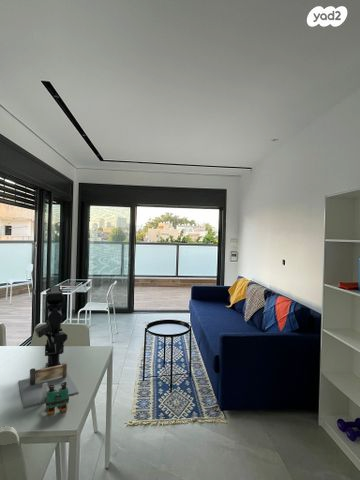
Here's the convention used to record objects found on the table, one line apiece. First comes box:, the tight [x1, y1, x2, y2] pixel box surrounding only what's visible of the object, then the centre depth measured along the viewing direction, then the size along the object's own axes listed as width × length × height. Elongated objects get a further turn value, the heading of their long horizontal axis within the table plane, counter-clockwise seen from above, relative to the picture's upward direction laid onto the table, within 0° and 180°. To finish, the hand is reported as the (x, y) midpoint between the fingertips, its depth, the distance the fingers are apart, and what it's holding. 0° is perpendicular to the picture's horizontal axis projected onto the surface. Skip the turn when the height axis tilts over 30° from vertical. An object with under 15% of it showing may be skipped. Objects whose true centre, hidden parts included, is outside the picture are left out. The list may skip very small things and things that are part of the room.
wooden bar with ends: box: [29, 362, 68, 385], centre depth 135 cm, size 16×2×6 cm, turn 124°
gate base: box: [18, 372, 79, 409], centre depth 131 cm, size 24×21×7 cm
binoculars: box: [45, 382, 70, 415], centre depth 116 cm, size 9×11×10 cm
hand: (54, 350), depth 140 cm, fingers open, 9 cm apart
